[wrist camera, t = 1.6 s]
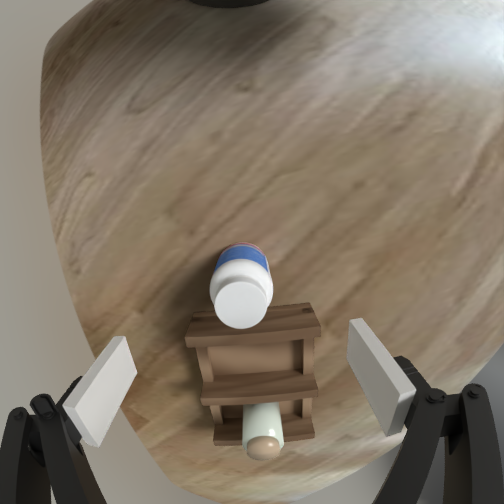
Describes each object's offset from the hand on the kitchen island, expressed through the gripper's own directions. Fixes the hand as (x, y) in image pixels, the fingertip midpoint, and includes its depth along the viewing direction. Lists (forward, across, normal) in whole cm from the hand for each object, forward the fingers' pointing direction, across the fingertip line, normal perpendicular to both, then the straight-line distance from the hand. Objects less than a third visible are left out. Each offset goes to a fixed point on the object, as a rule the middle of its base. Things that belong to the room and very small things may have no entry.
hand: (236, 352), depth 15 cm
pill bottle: (+16, 0, 0) cm, 16 cm away
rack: (+16, +1, -14) cm, 21 cm away
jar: (+15, +1, -18) cm, 23 cm away
